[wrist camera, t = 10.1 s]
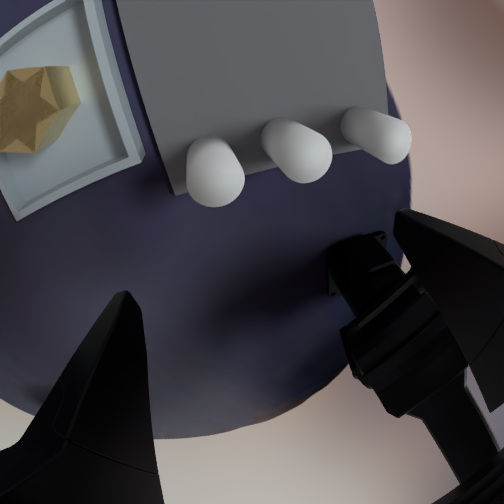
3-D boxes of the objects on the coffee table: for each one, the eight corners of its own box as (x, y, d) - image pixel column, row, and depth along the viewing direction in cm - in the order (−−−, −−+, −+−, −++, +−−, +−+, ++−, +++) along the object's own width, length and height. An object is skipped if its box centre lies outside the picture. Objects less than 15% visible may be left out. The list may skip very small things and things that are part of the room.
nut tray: (145, 153, 17) (141, 162, 15) (27, 208, 16) (16, 221, 15) (98, -12, 9) (89, -20, 7) (-22, 70, 8) (-37, 73, 7)
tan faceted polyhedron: (87, 121, 14) (67, 133, 11) (33, 154, 14) (8, 172, 11) (64, 48, 10) (39, 45, 8) (9, 87, 10) (-20, 94, 7)
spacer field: (385, 143, 20) (425, 164, 16) (175, 193, 19) (173, 229, 15) (346, -73, 7) (381, -92, 3) (107, -51, 7) (87, -78, 3)
